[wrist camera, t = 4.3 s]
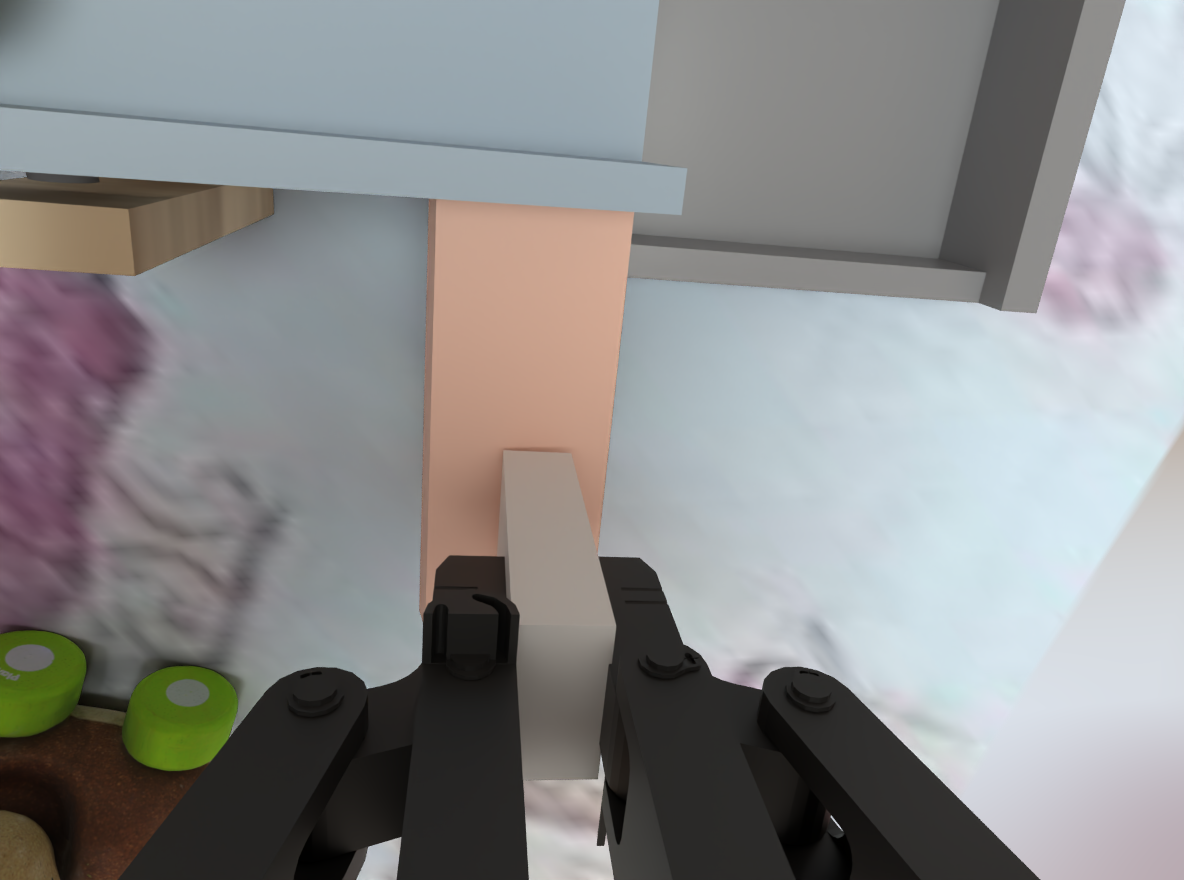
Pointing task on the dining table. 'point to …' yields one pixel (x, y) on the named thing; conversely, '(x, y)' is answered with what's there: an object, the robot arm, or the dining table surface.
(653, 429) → the dining table surface
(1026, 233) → the tray
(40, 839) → the toy car
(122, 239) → the fulcrum
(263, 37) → the lever
